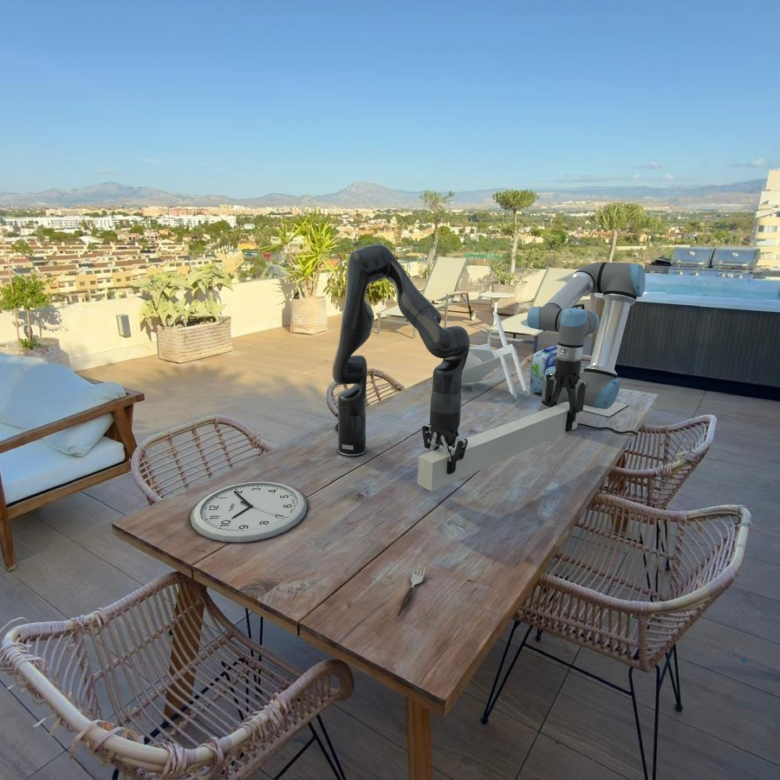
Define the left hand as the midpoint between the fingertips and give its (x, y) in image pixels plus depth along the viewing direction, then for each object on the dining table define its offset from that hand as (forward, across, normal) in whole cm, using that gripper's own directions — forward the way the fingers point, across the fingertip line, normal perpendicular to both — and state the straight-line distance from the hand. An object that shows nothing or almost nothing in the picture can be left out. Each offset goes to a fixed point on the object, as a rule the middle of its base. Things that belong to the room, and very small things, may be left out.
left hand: (442, 469), depth 134 cm
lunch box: (+15, -45, +122) cm, 131 cm away
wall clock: (+14, -34, -37) cm, 52 cm away
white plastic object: (+15, -64, +94) cm, 114 cm away
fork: (+13, +17, -27) cm, 35 cm away
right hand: (+3, 0, +56) cm, 56 cm away
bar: (+3, 0, +28) cm, 28 cm away
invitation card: (+15, -18, +119) cm, 121 cm away
